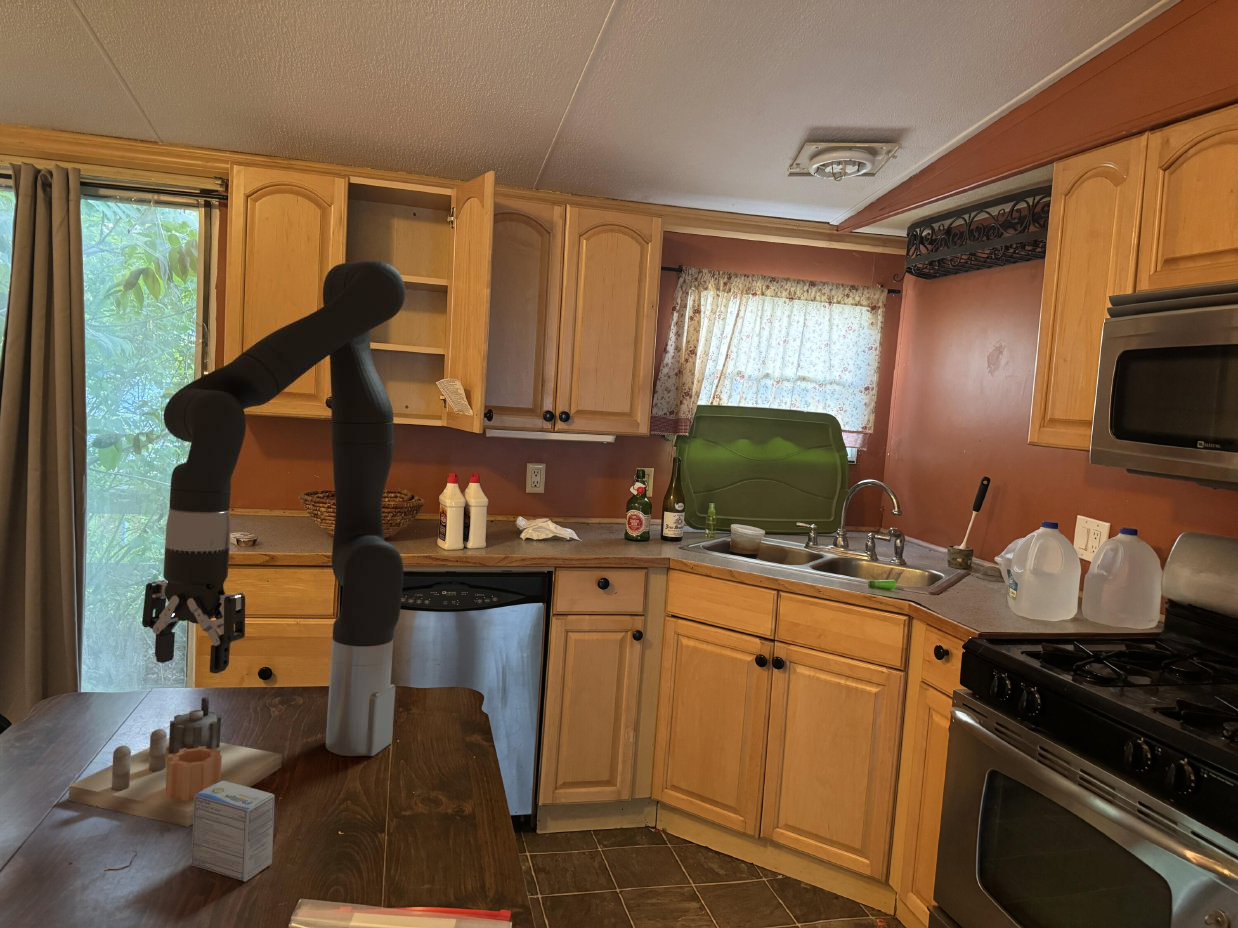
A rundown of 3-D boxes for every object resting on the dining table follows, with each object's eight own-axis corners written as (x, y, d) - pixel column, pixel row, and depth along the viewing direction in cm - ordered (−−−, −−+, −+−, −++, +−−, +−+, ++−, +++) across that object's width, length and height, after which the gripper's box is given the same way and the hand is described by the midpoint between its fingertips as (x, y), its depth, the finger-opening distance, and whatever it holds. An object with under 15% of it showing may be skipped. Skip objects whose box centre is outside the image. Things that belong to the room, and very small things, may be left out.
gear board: (281, 767, 125) (284, 707, 124) (187, 826, 106) (191, 756, 106) (175, 746, 129) (178, 688, 128) (68, 800, 110) (71, 732, 110)
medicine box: (272, 865, 100) (277, 792, 99) (244, 884, 95) (248, 808, 95) (219, 848, 102) (223, 778, 101) (189, 866, 98) (193, 793, 97)
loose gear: (229, 783, 114) (231, 751, 114) (196, 803, 108) (198, 769, 108) (189, 775, 116) (191, 743, 115) (154, 795, 110) (156, 760, 109)
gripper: (263, 546, 112) (256, 668, 113) (176, 533, 116) (169, 650, 117) (221, 554, 105) (214, 683, 106) (130, 540, 109) (123, 664, 110)
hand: (190, 666), depth 111 cm, fingers open, 8 cm apart
